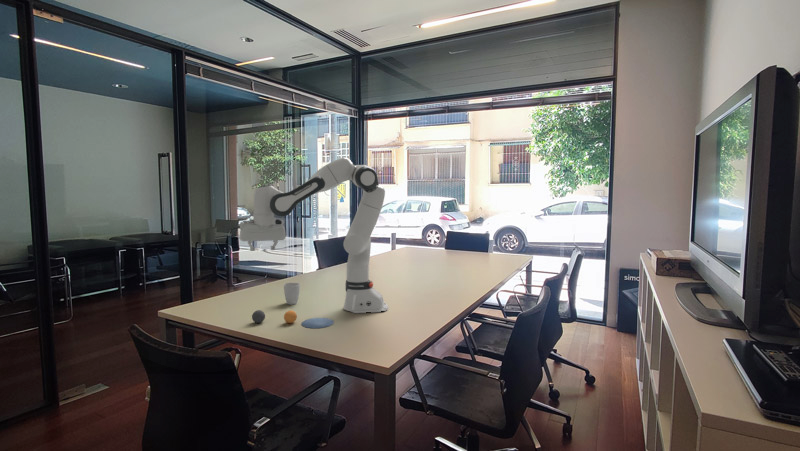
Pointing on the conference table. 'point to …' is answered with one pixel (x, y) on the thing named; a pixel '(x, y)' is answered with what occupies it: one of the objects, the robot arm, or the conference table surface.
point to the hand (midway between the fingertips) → (262, 250)
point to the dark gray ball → (258, 316)
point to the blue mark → (317, 323)
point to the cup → (291, 292)
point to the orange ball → (290, 316)
